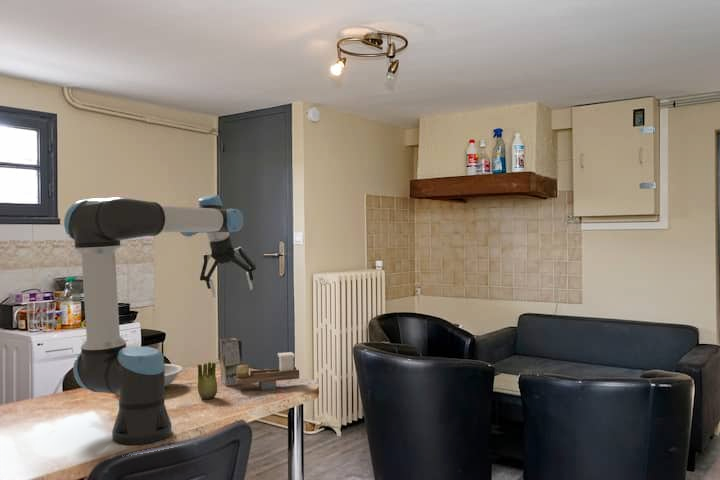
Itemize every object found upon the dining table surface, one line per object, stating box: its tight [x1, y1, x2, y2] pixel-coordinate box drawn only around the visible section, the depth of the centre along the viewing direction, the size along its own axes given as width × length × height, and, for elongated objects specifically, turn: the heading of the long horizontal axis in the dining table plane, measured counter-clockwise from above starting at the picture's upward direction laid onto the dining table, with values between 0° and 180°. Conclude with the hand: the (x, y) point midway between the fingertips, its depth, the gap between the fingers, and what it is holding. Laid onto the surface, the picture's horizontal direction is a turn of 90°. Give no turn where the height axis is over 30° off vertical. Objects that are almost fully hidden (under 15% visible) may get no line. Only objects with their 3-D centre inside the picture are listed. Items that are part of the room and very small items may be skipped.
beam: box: [235, 364, 300, 392], centre depth 212 cm, size 7×22×8 cm, turn 109°
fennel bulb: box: [197, 361, 218, 400], centre depth 199 cm, size 6×5×12 cm
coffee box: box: [219, 337, 243, 387], centre depth 221 cm, size 9×6×16 cm
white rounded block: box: [277, 351, 296, 371], centre depth 214 cm, size 5×5×7 cm
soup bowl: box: [164, 363, 184, 387], centre depth 213 cm, size 24×24×7 cm
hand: (233, 292), depth 219 cm, fingers open, 13 cm apart
